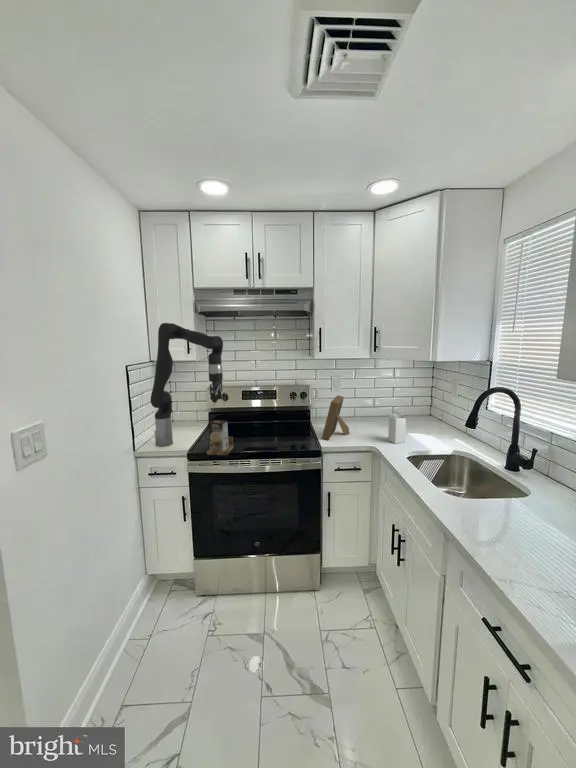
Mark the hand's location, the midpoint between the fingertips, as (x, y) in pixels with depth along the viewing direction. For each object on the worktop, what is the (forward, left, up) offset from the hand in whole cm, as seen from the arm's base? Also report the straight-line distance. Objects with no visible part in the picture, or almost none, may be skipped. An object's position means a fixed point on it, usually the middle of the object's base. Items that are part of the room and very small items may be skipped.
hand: (217, 400), depth 183 cm
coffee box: (0, 0, -28) cm, 28 cm away
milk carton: (+104, +24, -30) cm, 111 cm away
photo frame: (+68, +34, -30) cm, 82 cm away
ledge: (0, +1, -30) cm, 30 cm away
